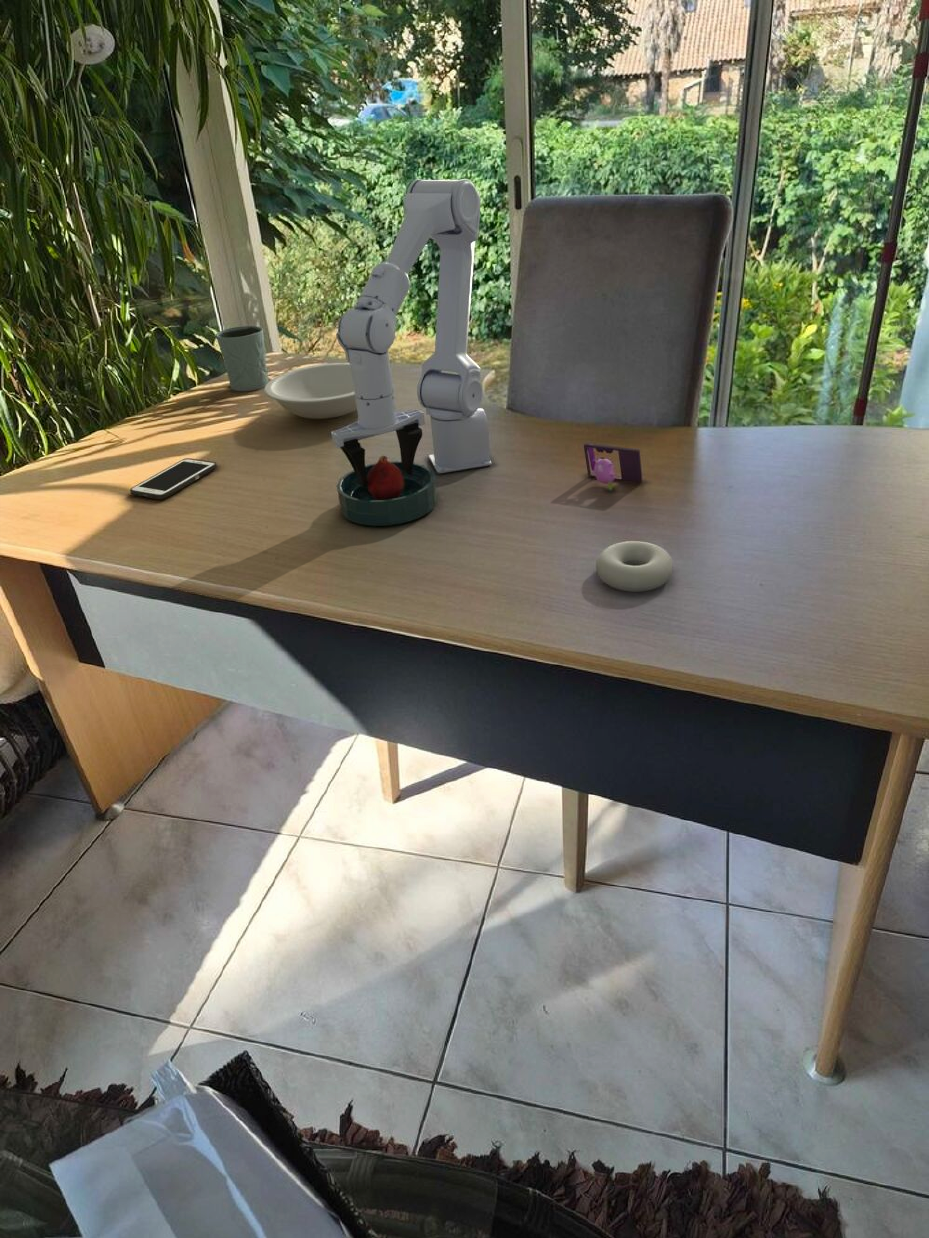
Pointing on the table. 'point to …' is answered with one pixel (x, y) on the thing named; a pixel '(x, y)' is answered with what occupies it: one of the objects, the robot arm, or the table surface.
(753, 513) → the table surface
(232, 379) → the textured green cup
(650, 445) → the table surface
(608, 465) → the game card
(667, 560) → the donut
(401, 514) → the teal bowl
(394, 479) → the onion
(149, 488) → the cell phone
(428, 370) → the robot arm
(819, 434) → the table surface
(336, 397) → the soup bowl
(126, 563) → the table surface
